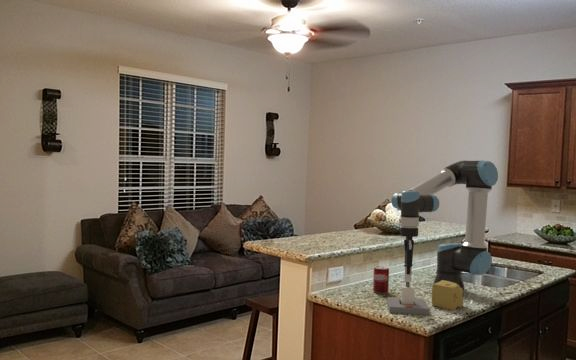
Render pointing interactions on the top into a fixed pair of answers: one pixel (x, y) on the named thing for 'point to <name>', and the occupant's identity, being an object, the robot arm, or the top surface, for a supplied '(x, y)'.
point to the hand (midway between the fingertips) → (407, 281)
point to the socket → (407, 306)
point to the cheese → (447, 295)
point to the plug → (407, 294)
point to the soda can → (381, 280)
